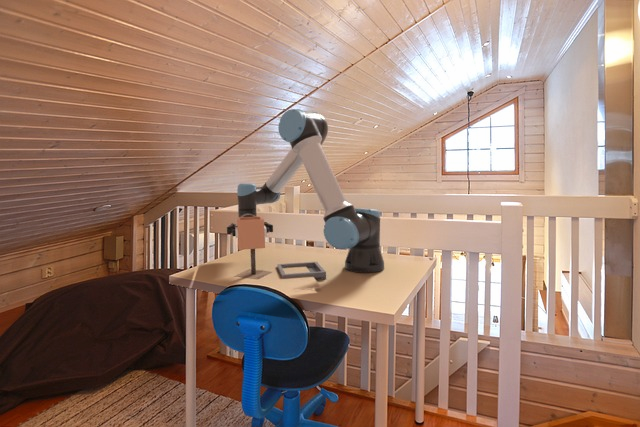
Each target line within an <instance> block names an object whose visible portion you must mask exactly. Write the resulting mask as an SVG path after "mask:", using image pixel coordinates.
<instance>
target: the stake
mask: <svg viewBox="0 0 640 427" xmlns="http://www.w3.org/2000/svg"><path fill="white" fill-rule="evenodd" d="M256 261H257V260H256V249H250V269H246V270H244V271H242V272H240V273H238V274H235V275H234V276H233V277H235V278H244V279H253V280H260V279H262V278H264V277H265V276H268V275H269V274H271V273H273V271H268V270H259V269H256V268H257V265H256V264H257V263H256Z"/></svg>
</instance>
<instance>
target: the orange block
mask: <svg viewBox="0 0 640 427" xmlns="http://www.w3.org/2000/svg"><path fill="white" fill-rule="evenodd" d="M264 222H265V218H264V216H260V215H259V216H258V215H257V217H236V225H237V228H238V238H237V250H239V251H240V250H241V251H242V250H251V249H255V250H257V249H259V250H260V249H266V241H265V239H266V236H265V234H264Z"/></svg>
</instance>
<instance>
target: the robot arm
mask: <svg viewBox="0 0 640 427" xmlns="http://www.w3.org/2000/svg"><path fill="white" fill-rule="evenodd" d="M277 128H278V135H279V137H280V138H281V139H282V140H283V141H285V142H287V143H289V145H290V147H291V149H290V150H289V152H288V153H287V154H286V156H285V157H284V158H283V159H282V160H281V162H280V163H279V165H278V166H277V167H276V169H275V170H274V171H273V172H272V174H271V175H270V176H269V178H268V179H267V180H266V182H265V183H264V184H263V185H262V186H256V184H255V183H254V182H253V183H252V182H247V183H246V182H245V183H242V182H241V183H239V184H238V185H237V193H236V195H237V205H238V206H237V210H238V212H237V214H238V217H258V215H257V205H265V204H266V205H267V204H272V203H277V202H278V201H279V200H280V198H281V193H282V192H281V191H282V190H283V189H284V188H285V186H286V185H287V184H288V183H289V182H290V180H291V179H292V178H293V177H294V175H295V174H296V173H297V171H298V170H299V169H300V168H301V166H302V165H303V166H304V168H305V170H306V173H307V175H308V177H309V180H310V181H311V184H312V186H313V188H314V191H315V193H316V195H317V196H318V199H319V200H318V201H320V203H321V206H322V208H323V211H324V215H323V216H322V217H323V218H322V219H323V221H324V226H323V227H324V228H323V235H324V238H325V240H326V242H327V243H328V244H329V245H330V246H331V247H332V248H334V249H336V250H346V249H348V251H347V255H346V258H345V260H344V268H345V270H347V271H350V272H353V273H361V274H362V273H365V274H367V273H377V272H378V273H379V272H381V271H383V270H384V269H385V260H384V258H383V255H382V254H383V253H382V252H381V247H380V246H381V244H380V243H381V215H380V214H381V213H380V211H379V210H378V209H370V208H356V207H355V206H354V204H352V203H349V202H347V200H346V199H347V198H346V197H345V195H344V193H343V191H342V189H341V187H340V184H339V181H338V180H337V178H336V175H335V174H334V171H333V169H332V166H331V164H330V162H329V160H328V158H327V156H326V153H325V151H324V149H323V146H322V145H323V143H324V142H325V140H326V139H327V137H328V132H329V125H328V121H327V120H326V118H325V117H324V116H323V115H322V114H321V113H318V112H315V111H309V110H308V111H307V110H303V109H300V108H291V109H288V110H286V111H285V112H283V114H282V115H281V116H280V119H279V123H278V126H277ZM273 232H274V225H273V224H271V223H268V222H266V221H264V234H265V237H267V236H268V234H269V233H273ZM226 234H227V235H228V236H229V235H231V234H232V235H231V236H232V237H235V238H236V239H238V228H237V223H233V222H232V223H231V224H230V225H229V226H227V227H226Z"/></svg>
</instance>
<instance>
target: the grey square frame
mask: <svg viewBox="0 0 640 427" xmlns="http://www.w3.org/2000/svg"><path fill="white" fill-rule="evenodd" d="M276 266H277V270H278V271H279V272H278V273H279V274H280V276H281V279H288V278H289V279H290V278H301V277H302V278H303V277H313V278H314V280H316V281H317V280H327V271H326V270H325V269H324V267H322V266H321V264H320V263H319V262H318V261H310V262H309V261H308V262H307V261H306V262H294V263H292V262H291V263H278V264H276ZM293 267H306V269H307V270H308V272H307V271H306V272H296V273H295V272H294V273H285V271H284V268H293Z"/></svg>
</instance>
